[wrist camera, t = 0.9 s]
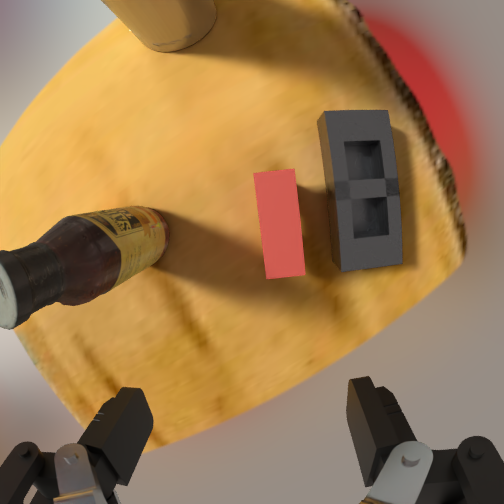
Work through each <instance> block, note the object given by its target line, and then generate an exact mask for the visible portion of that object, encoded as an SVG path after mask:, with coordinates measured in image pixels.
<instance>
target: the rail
mask: <svg viewBox="0 0 504 504" xmlns="http://www.w3.org/2000/svg"><path fill="white" fill-rule="evenodd" d="M317 125H318V131H319V138H320V145H321V152H322V159H323V167H324V175H325V184H326V193H327V202H328V212H329V223H330V234H331V247H332V261H333V263H334V264H335V265H336V266H337V267H338V268H339V270H340V271H341V272H345V271H352V270H360V269H368V268H375V267H383V266H390V265H397V264H402V227H401V209H400V196H399V185H398V175H397V166H396V158H395V151H394V144H393V137H392V131H391V125H390V119H389V114H388V110H340V111H324V112H323V113H322V115H321V116H320V118H319V119H318V121H317Z"/></svg>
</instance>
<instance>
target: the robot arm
mask: <svg viewBox="0 0 504 504" xmlns="http://www.w3.org/2000/svg"><path fill="white" fill-rule="evenodd" d="M101 1H102V2H103V3H104V4H105V5H106V6H107V7H108V8H109V9H110V10H111V11H112V12H113V13H114V14H115V15H116V16H117V17H118V18H119V19H120V20H121V21H122V22H123V23H124V24H125V25H126V26H127V27H128V28H129V29H130V31H131V32H132V33H133V34H134V35H135V36H136V37H137V38H138V39H139V40H140V41H141V42H142V43H143V44H144V45H145V46H146V47H148V48H150V49H152V50H155V51H160V52H171V51H177V50H180V49H183V48H186V47H188V46H190V45H192V44H195V43H196V42H197V41H199V40H200V39H202V38H203V37H204V36H205V35H206V34H207V33H208V32H209V31H210V29H211V28H212V27H213V24H214V22H215V20H216V14H217V13H216V7H215V4H214V1H213V0H101ZM346 414H347V422H348V426H349V429H350V433H351V436H352V440H353V443H354V447H355V450H356V454H357V458H358V461H359V465H360V469H361V473H362V476H363V480H364V484H365V487H369V486H372V488H371V489H370V491H369V493H368V494H367V496H366V497H365V499H364V500H362V501H361V502H360V503H359V504H504V462H503V460H502V459H501V457H500V455H499V453H498V452H497V450H496V448H495V447H494V445H493V443H492V442H491V441H490V440H488V439H487V438H485V437H481V436H473V437H469V438H467V439H465V440H464V441H462V443H461V444H460V445H459V447H458V449H449V450H431V449H430V448H429V447H428V446H427V445H425V444H424V443H422V442H418V441H417V439H416V438H415V436H414V434H413V432H412V430H411V428H410V426H409V424H408V422H407V420H406V418H405V416H404V414H403V412H402V410H401V408H400V406H399V405H398V402H397V400H396V399H395V396H394V395H393V393H392V392H390V391H389V390H388V389H386V388H385V387H384V386H382V387H377V388H375V387H374V385H373V382H372V380H371V378H370V377H369V376H366V377H361V378H354V379H350V380H349V383H348V396H347V407H346ZM152 429H153V416H152V413H151V411H150V408H149V406H148V403H147V400H146V398H145V395H144V393H143V391H142V389H140V388H130V387H122V388H121V389H120V391H119V392H118V394H117V395H116V397H115V398H113V397H112V398H111V399H110V400H108V401H107V402H106V403H104V404H103V405H102V407H101V408H100V410H99V411H98V414H96V416H95V417H94V419H93V420H92V421H91V423H90V424H89V426H88V427H87V429H86V430H85V432H84V433H83V435H82V436H81V438H80V439H79V441H78V442H77V443H70V444H66V445H64V446H62V447H60V448H59V449H58V450H57V452H56V453H51V452H41V451H40V450H39V448H38V447H37V445H36V444H34V443H32V442H23V443H20V444H18V445H17V446H15V448H14V449H13V450H12V452H11V453H10V454H9V456H8V457H7V458H6V460H5V461H4V463H3V464H2V465H1V467H0V504H23V500H24V498H25V496H26V494H27V493H28V491H29V489H30V487H31V486H32V484H33V485H34V486H35V487H36V488H37V489H38V490H37V492H36V494H35V496H34V497H33V499H32V501H31V503H30V504H121V502H120V500H119V497H118V495H117V492H116V491H115V490H114V488H115V486H116V484H120V485H125V486H127V485H128V483H129V481H130V479H131V476H132V474H133V472H134V470H135V467H136V465H137V463H138V460H139V458H140V456H141V454H142V451H143V449H144V447H145V445H146V442H147V440H148V438H149V436H150V433H151V431H152Z"/></svg>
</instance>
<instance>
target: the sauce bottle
mask: <svg viewBox="0 0 504 504" xmlns="http://www.w3.org/2000/svg"><path fill="white" fill-rule="evenodd" d="M168 243H169V229H168V226H167V223H166V222H165V220H164V218H163V217H162V216H161V215H160V214H159V213H158V212H156V211H154V210H153V209H150V208H146V207H143V206H130V207H123V208H116V209H109V210H102V211H96V212H90V213H84V214H77V215H72V216H67V217H65V218H63V219H62V220H60V221H59V222H58V223H57V224H56V225H54V226H53V227H52V228H51V229H50V230H49V231H47V232H46V233H45V234H44V235H43V236H42V237H41V238H40V239H38V240H37V241H36V242H33V243H31V244H29V245H28V246H26V247H23V248H20V249H16V250H12V251H5V250H1V251H0V327H2V328H4V329H9V330H10V329H13V328H15V327H17V326H18V325H21V324H22V323H23V322H25V321H27V320H28V319H29V317H30V315H31V314H33V313H34V312H36V311H38V310H39V309H41V308H43V307H45V306H46V305H51V304H53V303H55V302H60V303H61V304H63V305H70V306H75V305H80V304H84V303H87V302H90V301H91V300H93V299H95V298H96V297H98V296H99V295H102V294H105V293H107V292H108V291H110V290H112V289H113V288H115V287H116V286H118V285H120V284H121V283H123V282H124V281H126V280H128V279H129V278H131V277H133V276H134V275H136V274H138V273H139V272H141V271H143V270H144V269H146V268H147V267H149V266H151V265H152V264H154V263H155V262H156V261H157V260H158V259H159V258H160V257H162V256H163V254H164V253H165V251H166V249H167V246H168Z"/></svg>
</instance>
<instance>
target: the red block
mask: <svg viewBox="0 0 504 504" xmlns="http://www.w3.org/2000/svg"><path fill="white" fill-rule="evenodd" d="M253 174H254V182H255V190H256V198H257V206H258V214H259V222H260V230H261V239H262V247H263V255H264V264H265V272H266V279H274V278H283V277H292V276H301V275H305V264H304V252H303V242H302V232H301V222H300V212H299V203H298V195H297V186H296V178H295V170H294V169H286V170H277V171H268V172H260V173H253Z"/></svg>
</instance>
